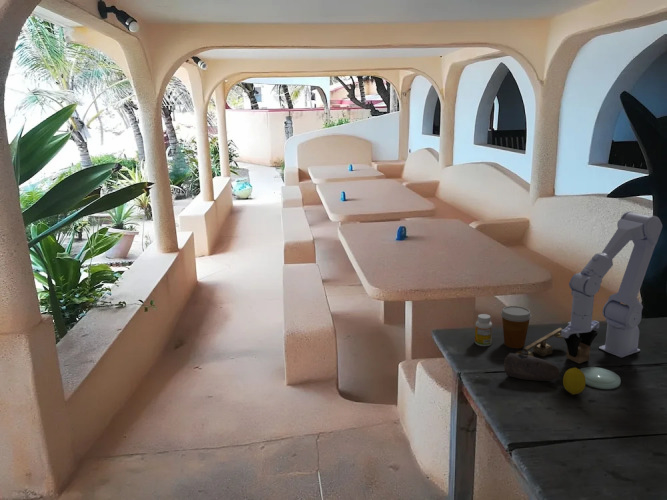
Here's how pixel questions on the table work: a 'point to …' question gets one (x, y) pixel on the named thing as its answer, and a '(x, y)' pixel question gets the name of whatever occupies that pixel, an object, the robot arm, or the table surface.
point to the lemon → (574, 381)
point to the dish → (601, 378)
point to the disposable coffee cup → (515, 325)
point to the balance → (541, 345)
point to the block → (580, 353)
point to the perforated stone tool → (530, 368)
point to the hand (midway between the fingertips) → (578, 353)
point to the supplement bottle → (483, 330)
